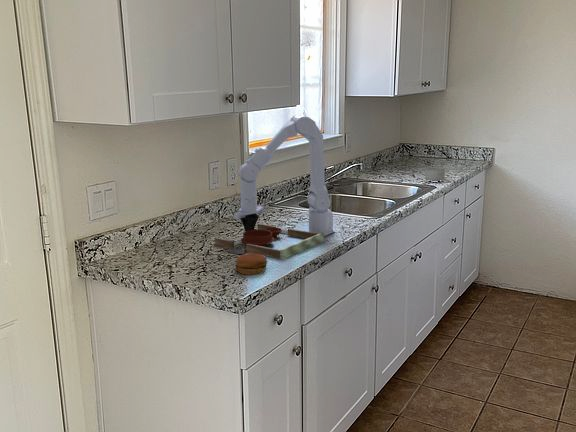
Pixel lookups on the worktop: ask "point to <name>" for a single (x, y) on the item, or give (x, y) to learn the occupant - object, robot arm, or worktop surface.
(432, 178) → the teacup
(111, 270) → the worktop surface
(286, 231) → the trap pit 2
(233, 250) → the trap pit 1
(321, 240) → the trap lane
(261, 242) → the pottery
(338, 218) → the worktop surface
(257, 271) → the burger
